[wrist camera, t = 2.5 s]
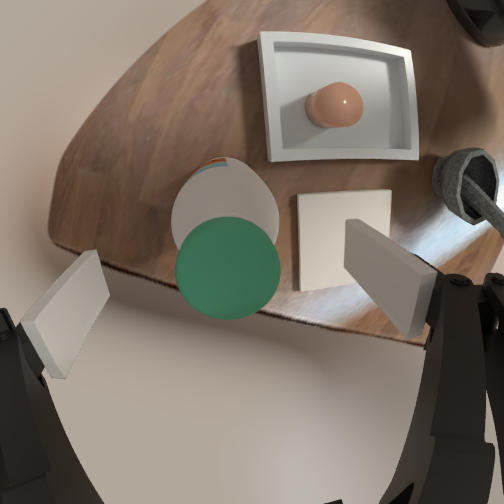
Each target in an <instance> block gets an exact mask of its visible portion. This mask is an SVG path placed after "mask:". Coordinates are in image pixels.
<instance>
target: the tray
mask: <svg viewBox="0 0 504 504" xmlns="http://www.w3.org/2000/svg"><path fill="white" fill-rule="evenodd" d="M257 43H258V53H259V64H260V74H261V85H262V96H263V107H264V119H265V131H266V144H267V157H268V161H271V162H279V161H295V160H318V159H402V160H419V130H418V111H417V98H416V87H415V78H414V71H413V63H412V57H411V51H410V50H407V49H404V48H400V47H396V46H391V45H387V44H382V43H378V42H373V41H367V40H362V39H356V38H349V37H342V36H334V35H325V34H314V33H300V32H260V33H259V36H258V38H257ZM335 82H343V83H346V84H349V85H351V86H352V87H353V88H355V89H356V90H357V91H358V93H359V94H360V96H361V98H362V101H363V114H362V116H361V118H360V120H359V121H358V122H357V123H356V124H354V125H352V126H349V127H337V128H320V127H318V126H316V125H314V124H313V123H312V122H311V121H310V120H309V119H308V117H307V115H306V112H305V102H306V99H307V98H308V96H309V95H310V94H311V93H313V92H315V91H317V90H319V89H321V88H323V87H325V86H327V85H330V84H332V83H335Z"/></svg>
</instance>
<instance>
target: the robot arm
mask: <svg viewBox="0 0 504 504" xmlns="http://www.w3.org/2000/svg"><path fill="white" fill-rule="evenodd" d="M447 1H448V3H449V5H450V7H451V9H452V11H453V12H454V14H455V15H456V17H457V18H458V20H459V21H460V23H461V24H462V25H463V27H464V28H465V29H466V30H467V31H468V32H469V34H470V35H471V36H472V37H473V38H475V39H476V40H477V41H478V42H479V43H481V44H483V45H484V46H487V47H496V46H501V45H503V44H504V0H447ZM344 268H345V269H346V270H347V272H348V273H349V274H350V275H351V276H352V277H353V278H354V279H355V280H356V281H357V283H358V284H359V285H360V286H361V287H362V288H363V289H364V290H365V292H366V293H367V294H368V295H369V296H370V297H371V298H372V299H373V301H374V302H375V303H376V304H377V305H378V306H379V307H380V309H381V310H382V311H383V312H384V313H385V314H386V316H387V317H388V318H389V319H390V320H391V321H392V323H393V324H394V325H395V326H396V327H397V329H398V330H399V331H400V332H401V333H402V335H403V336H404V337H405V338H406V339H410V338H413V337H416V336H419V335H422V331H423V328H424V324H425V322H426V323H427V324H428V325H429V326H430V327H431V328H430V331H429V334H428V337H427V340H426V343H425V346H424V349H423V350H426V355H425V361H424V367H423V373H422V378H421V383H420V388H419V393H418V397H417V401H416V406H415V410H414V414H413V418H412V422H411V425H410V429H409V432H408V435H407V439H406V442H405V445H404V448H403V451H402V454H401V457H400V460H399V463H398V466H397V468H396V471H395V474H394V476H393V479H392V481H391V483H390V485H389V487H388V489H387V490H386V492H385V494H384V495H383V497H382V498H381V500H380V502H379V504H487V503H488V499H489V494H490V488H491V483H492V476H493V469H494V462H495V447H494V445H493V443H486V442H485V439H484V433H485V418H486V416H485V415H486V390H487V394H488V398H489V402H490V406H491V410H492V415H493V420H494V424H495V430H496V436H497V441H498V449H499V456H500V465H501V476H502V485H503V493H504V276H503V275H502V274H499V273H488V274H486V276H485V279H484V282H483V285H474V284H473V282H472V281H471V280H470V279H469V278H467V277H465V276H463V275H460V274H447V275H444V274H443V273H442V272H440V271H439V270H438V269H436V268H435V267H433V266H432V265H430V264H429V263H428V262H426V261H424V259H422V258H421V257H419V256H418V255H416V254H413V253H410V252H409V251H407V250H406V249H404V248H403V247H401V246H400V245H398V244H397V243H396V242H394V241H393V240H391V239H390V238H388V237H386V236H385V235H383V234H382V233H380V232H379V231H377V230H376V229H374V228H373V227H371V226H369V225H368V224H366V223H365V222H363V221H362V220H360V219H358V218H357V219H346V220H345V248H344ZM109 296H110V293H109V290H108V287H107V284H106V281H105V277H104V274H103V271H102V267H101V264H100V260H99V256H98V253H97V249H96V250H89V251H85V252H84V253H82V254H81V255H80V256H79V257H78V258H77V259H76V260H75V261H74V263H72V264H71V265H70V266H69V268H68V269H66V271H65V272H64V273H63V274H62V275H61V276H60V277H59V278H58V279H57V280H56V281H55V282H54V283H53V284H52V285H51V287H50V288H49V289H48V290H47V291H46V292H45V293H44V294H43V295H42V296H41V297H40V299H39V300H38V301H37V302H36V303H35V304H34V305H33V306H32V308H31V309H30V310H29V311H28V312H27V314H26V315H25V316H24V317H23V318H22V319H21V321H20V323H19V324H18V325H17V327H15V325H14V323H13V321H12V319H11V317H10V315H9V313H8V311H7V309H6V308H0V504H104V502H103V501H102V499H101V498H100V496H99V495H98V493H97V491H96V490H95V488H94V487H93V485H92V483H91V481H90V480H89V478H88V476H87V474H86V473H85V471H84V469H83V467H82V465H81V464H80V462H79V460H78V458H77V456H76V454H75V452H74V450H73V448H72V446H71V444H70V441H69V439H68V437H67V435H66V433H65V431H64V428H63V426H62V423H61V421H60V419H59V416H58V414H57V411H56V409H55V406H54V403H53V401H52V398H51V395H50V393H49V389H48V386H47V383H46V380H45V378H44V377H43V375H42V374H41V373H42V371H43V369H44V367H45V368H46V370H47V372H48V373H49V375H50V376H51V378H57V379H66V377H67V375H68V373H69V371H70V369H71V367H72V365H73V363H74V361H75V358H76V357H77V354H78V353H79V351H80V349H81V347H82V345H83V343H84V341H85V339H86V337H87V335H88V334H89V331H90V330H91V328H92V326H93V324H94V322H95V321H96V319H97V317H98V315H99V314H100V312H101V310H102V308H103V306H104V305H105V303H106V301H107V300H108V298H109ZM498 322H499V324H498ZM497 325H498V329H497V328H496V327H497ZM10 485H11V486H10ZM325 504H343V502H342V500H341V499H340V500H336V501H333V502H329V503H325Z"/></svg>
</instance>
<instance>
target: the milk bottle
mask: <svg viewBox="0 0 504 504" xmlns="http://www.w3.org/2000/svg"><path fill="white" fill-rule="evenodd" d="M171 228H172V234H173V239H174V241H175V244H176V246H177V248H178V250H179V252H178V256H177V260H176V266H175V276H176V281H177V285H178V288H179V290H180V292H181V294H182V296H183V297H184V299H185V300H186V301H187V303H188V304H189V305H191V306H192V307H193V308H194V309H195V310H197V311H198V312H200V313H202V314H204V315H206V316H209V317H212V318H217V319H224V320H231V319H238V318H243V317H246V316H249V315H251V314H253V313H255V312H257V311H258V310H260V309H261V308H263V307H264V306H265V305H266V304H267V303H268V302H269V301H270V300H271V298H272V297H273V295H274V294H275V292H276V290H277V287H278V284H279V280H280V273H281V266H280V260H279V256H278V253H277V251H276V248H275V246H274V245H275V242H276V239H277V236H278V231H279V213H278V208H277V205H276V201H275V199H274V197H273V195H272V193H271V191H270V190H269V188H268V187H267V185H266V184H265V183H264V181H263V180H262V179H261V178H260V177H259V176H258V175H257V174H256V173H255V172H254V171H253V170H252V169H251V168H250V167H249V166H248V165H246V164H245V163H243V162H241V161H239V160H237V159H234V158H229V157H219V158H214V159H211V160H209V161H207V162H205V163H203V164H202V165H201V166H199V167H198V168H197V169H196V170H195V171H194V172H193V174H192V175H191V176H190V177H189V178H188V180H187V181H186V182H185V184H184V185H183V187H182V188H181V190H180V192H179V194H178V195H177V197H176V200H175V202H174V205H173V210H172V216H171Z"/></svg>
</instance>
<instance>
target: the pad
mask: <svg viewBox="0 0 504 504" xmlns="http://www.w3.org/2000/svg"><path fill="white" fill-rule="evenodd" d="M391 194H392V190H390V189H375V190H352V191H334V192H318V193H304V194H297V210H298V244H299V289H300V291H301V292H302V291H309V290H315V289H322V288H328V287H335V286H341V285H347V284H353V283H357V281H356V280H355V279H354V278H353V277H352V276H351V275H350V274H349V273H348V272H347V270H346V269H345V268H344V248H345V220H346V219H357V218H358V219H360V220H362V221H363V222H365V223H366V224H368V225H369V226H371V227H373V228H374V229H376V230H377V231H379V232H380V233H382V234H383V235H385V236H386V237H388V238H389V228H390V214H391Z"/></svg>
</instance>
